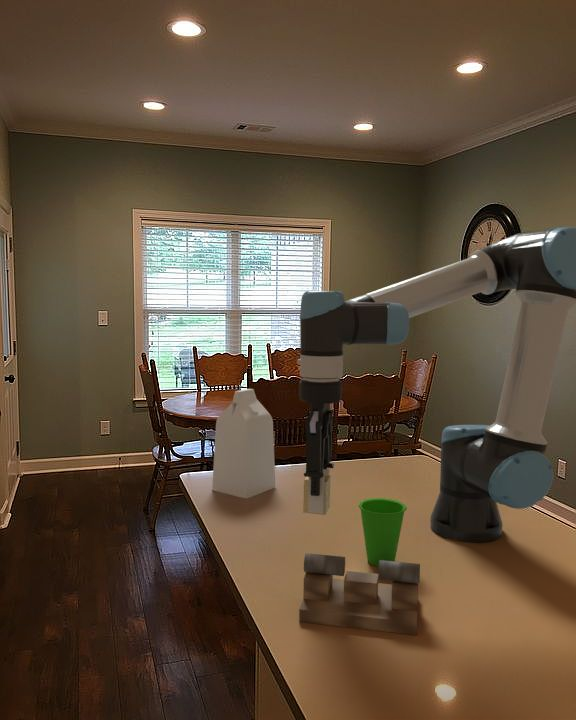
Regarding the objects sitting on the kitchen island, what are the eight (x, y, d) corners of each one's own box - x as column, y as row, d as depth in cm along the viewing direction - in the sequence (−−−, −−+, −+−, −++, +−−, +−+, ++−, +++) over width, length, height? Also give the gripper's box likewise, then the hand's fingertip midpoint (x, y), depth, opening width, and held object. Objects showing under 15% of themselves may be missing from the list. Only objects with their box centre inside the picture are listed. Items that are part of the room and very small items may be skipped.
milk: (241, 479, 176) (242, 385, 174) (275, 487, 170) (276, 389, 167) (212, 490, 167) (211, 390, 164) (246, 498, 160) (246, 395, 157)
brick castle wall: (418, 598, 108) (420, 550, 108) (417, 635, 97) (419, 581, 96) (311, 587, 112) (311, 540, 111) (297, 621, 100) (298, 569, 100)
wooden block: (329, 507, 117) (330, 475, 116) (325, 514, 113) (326, 481, 113) (307, 505, 118) (309, 473, 117) (303, 512, 114) (304, 479, 114)
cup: (393, 575, 117) (395, 516, 116) (349, 563, 122) (350, 507, 121) (412, 558, 125) (413, 503, 124) (369, 548, 130) (370, 495, 129)
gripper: (310, 372, 122) (308, 492, 125) (288, 384, 106) (286, 522, 108) (349, 373, 120) (346, 495, 123) (333, 386, 104) (330, 526, 106)
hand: (318, 507), depth 115 cm, fingers closed on wooden block, 4 cm apart
